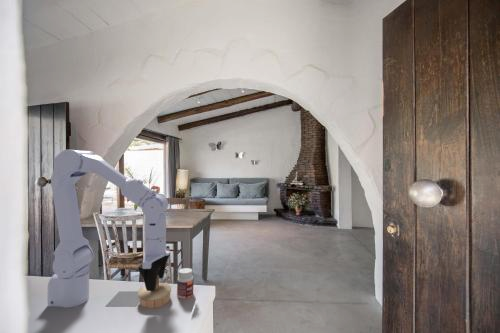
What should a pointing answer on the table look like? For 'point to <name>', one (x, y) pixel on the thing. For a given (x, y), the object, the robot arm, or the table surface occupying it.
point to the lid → (155, 291)
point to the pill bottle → (185, 283)
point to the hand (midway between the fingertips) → (155, 283)
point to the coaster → (125, 299)
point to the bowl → (155, 302)
